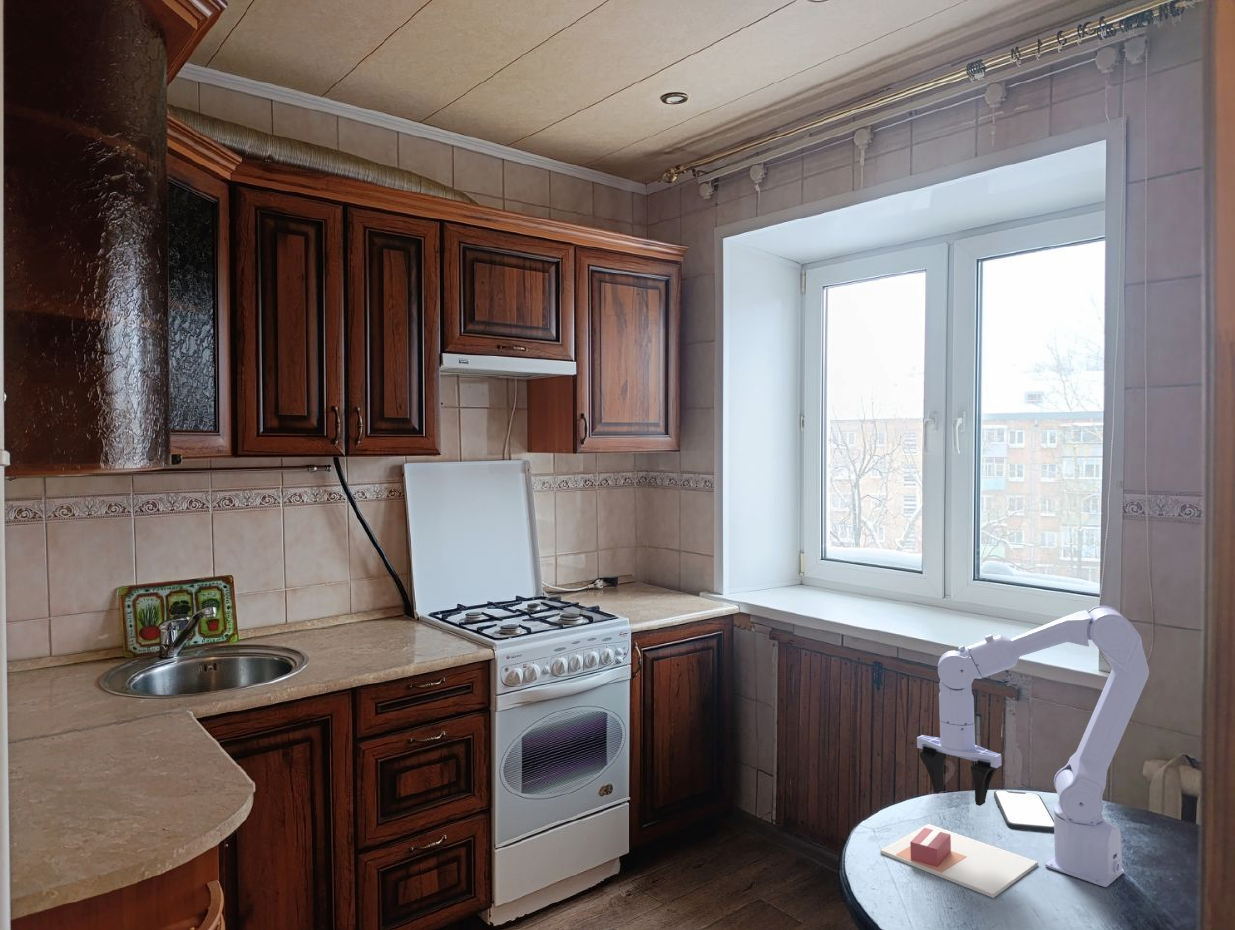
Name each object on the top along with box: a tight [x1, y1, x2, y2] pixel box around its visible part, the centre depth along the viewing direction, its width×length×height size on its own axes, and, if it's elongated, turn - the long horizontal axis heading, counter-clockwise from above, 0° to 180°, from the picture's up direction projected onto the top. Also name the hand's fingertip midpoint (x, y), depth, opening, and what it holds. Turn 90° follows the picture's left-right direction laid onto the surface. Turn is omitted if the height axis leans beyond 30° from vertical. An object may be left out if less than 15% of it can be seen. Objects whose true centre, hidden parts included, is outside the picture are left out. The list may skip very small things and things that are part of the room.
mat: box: [880, 823, 1039, 899], centre depth 140 cm, size 20×16×1 cm
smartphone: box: [993, 790, 1054, 834], centre depth 158 cm, size 9×2×16 cm
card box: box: [910, 828, 951, 867], centre depth 140 cm, size 7×4×3 cm, turn 140°
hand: (959, 797), depth 143 cm, fingers open, 7 cm apart
